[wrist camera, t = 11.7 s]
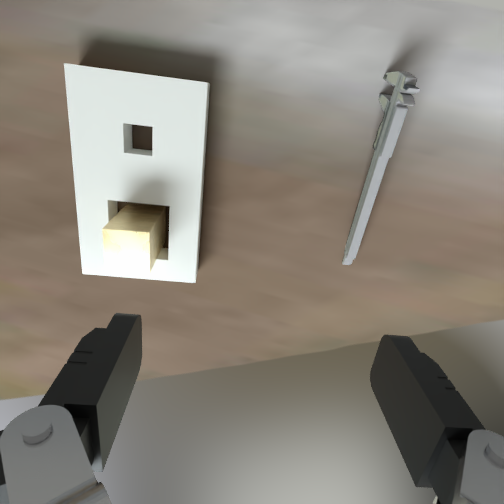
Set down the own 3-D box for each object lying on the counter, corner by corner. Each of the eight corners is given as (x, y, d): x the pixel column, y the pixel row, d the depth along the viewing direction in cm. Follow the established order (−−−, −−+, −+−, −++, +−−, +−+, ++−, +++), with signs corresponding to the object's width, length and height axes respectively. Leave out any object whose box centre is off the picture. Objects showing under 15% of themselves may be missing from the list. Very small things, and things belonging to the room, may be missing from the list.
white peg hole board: (209, 83, 33) (207, 82, 30) (197, 270, 41) (195, 283, 38) (78, 65, 32) (64, 63, 29) (92, 261, 40) (82, 273, 37)
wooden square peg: (165, 205, 38) (149, 232, 30) (165, 239, 39) (149, 272, 32) (127, 202, 37) (102, 228, 30) (129, 237, 39) (105, 269, 32)
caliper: (382, 73, 34) (413, 68, 28) (393, 74, 34) (426, 69, 28) (341, 262, 42) (358, 289, 36) (349, 263, 42) (368, 289, 36)
